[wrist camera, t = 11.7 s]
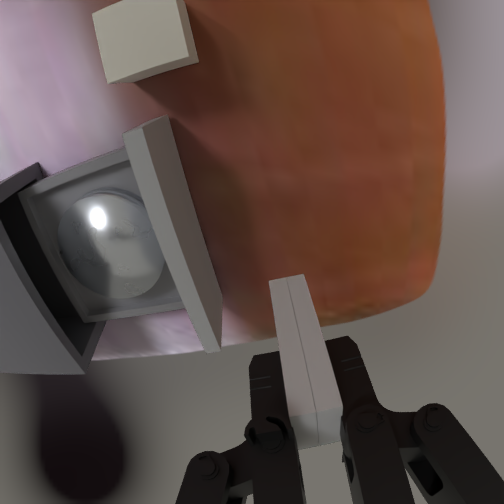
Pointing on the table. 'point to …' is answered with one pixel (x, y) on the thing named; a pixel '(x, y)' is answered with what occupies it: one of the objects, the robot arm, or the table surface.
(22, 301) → the housing
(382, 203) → the table surface
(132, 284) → the disc
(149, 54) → the pedestal
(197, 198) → the table surface
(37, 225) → the tray
